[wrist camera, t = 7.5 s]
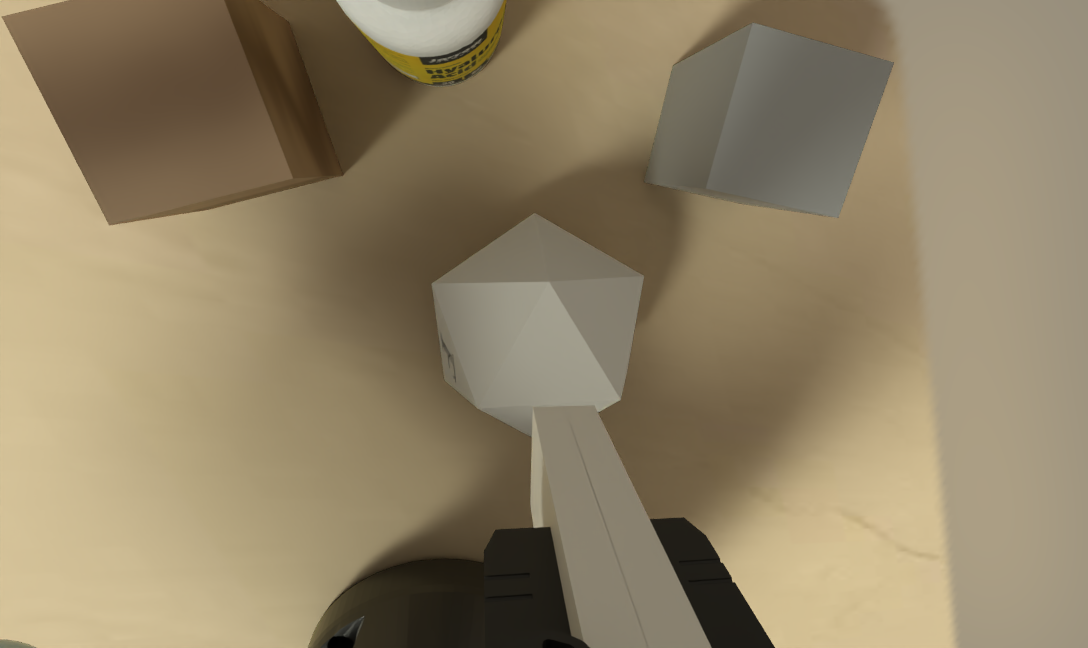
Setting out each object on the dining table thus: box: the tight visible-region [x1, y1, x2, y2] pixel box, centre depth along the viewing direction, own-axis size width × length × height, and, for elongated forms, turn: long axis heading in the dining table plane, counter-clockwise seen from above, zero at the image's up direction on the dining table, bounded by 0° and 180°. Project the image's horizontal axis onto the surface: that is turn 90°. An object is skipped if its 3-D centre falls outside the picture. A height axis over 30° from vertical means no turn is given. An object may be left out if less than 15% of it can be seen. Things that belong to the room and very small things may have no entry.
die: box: [432, 213, 644, 437], centre depth 21 cm, size 8×9×10 cm
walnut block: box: [2, 0, 343, 225], centre depth 18 cm, size 6×6×6 cm
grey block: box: [644, 23, 894, 218], centre depth 20 cm, size 5×5×7 cm
